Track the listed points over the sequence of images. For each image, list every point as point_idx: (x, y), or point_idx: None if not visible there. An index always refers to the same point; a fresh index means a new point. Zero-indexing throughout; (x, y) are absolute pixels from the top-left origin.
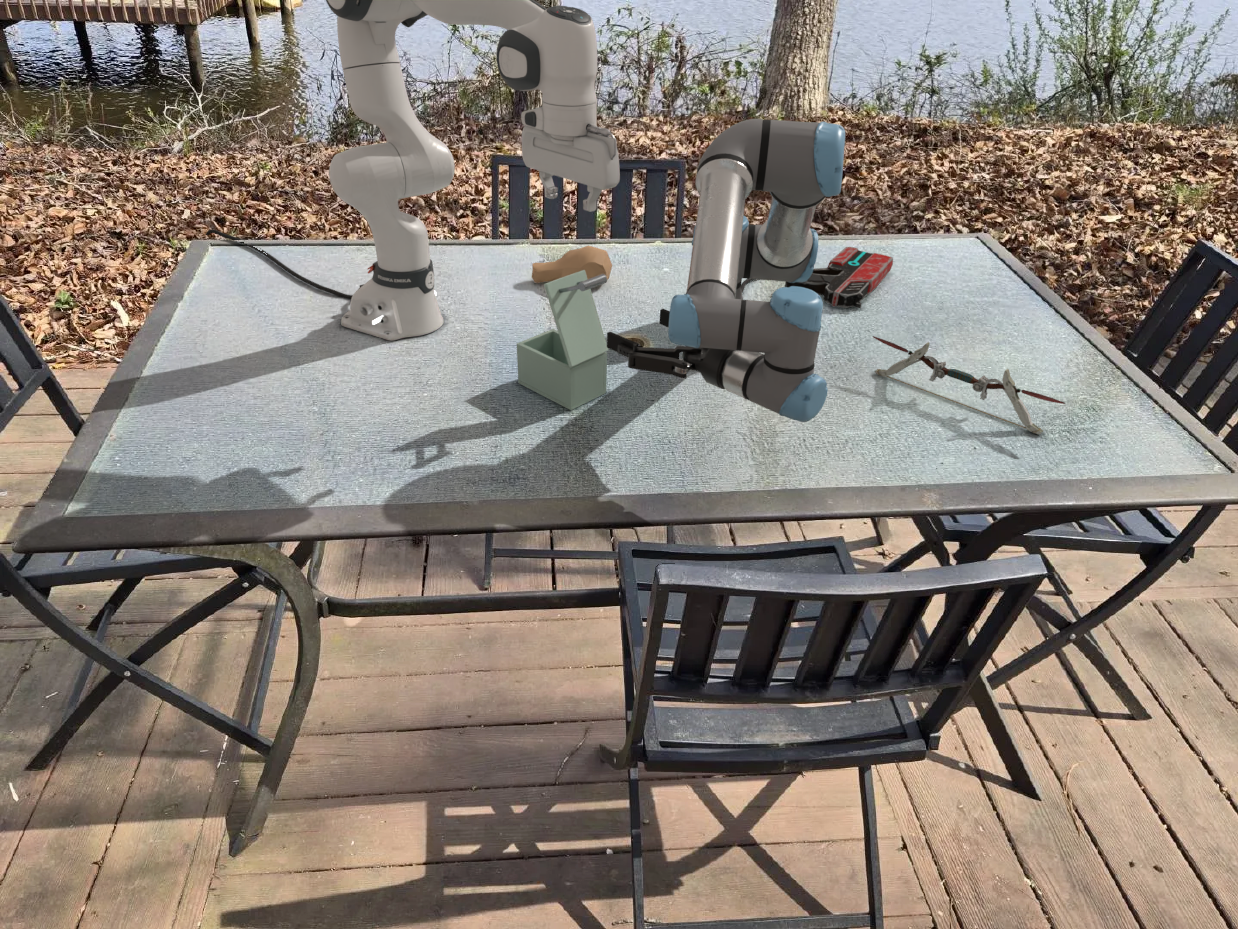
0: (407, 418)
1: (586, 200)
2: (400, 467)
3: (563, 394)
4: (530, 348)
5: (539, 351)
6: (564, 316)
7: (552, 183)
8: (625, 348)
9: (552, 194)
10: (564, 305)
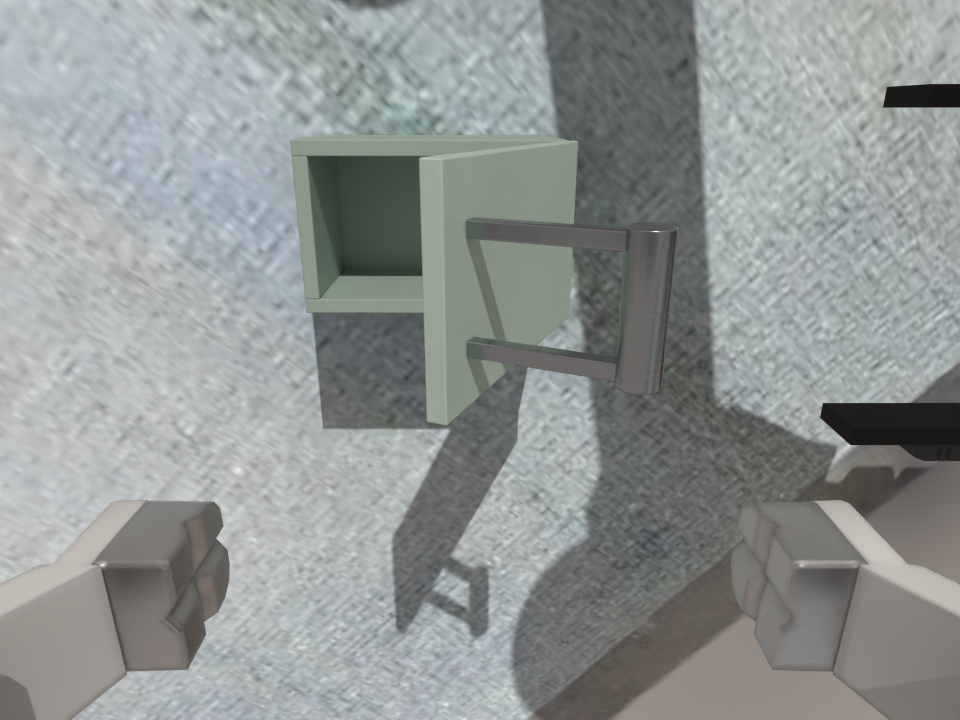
0: (309, 551)
1: (818, 657)
2: (459, 647)
3: None
4: (365, 305)
5: (325, 216)
6: (513, 333)
7: (64, 607)
8: (955, 460)
9: (204, 587)
10: (497, 328)
